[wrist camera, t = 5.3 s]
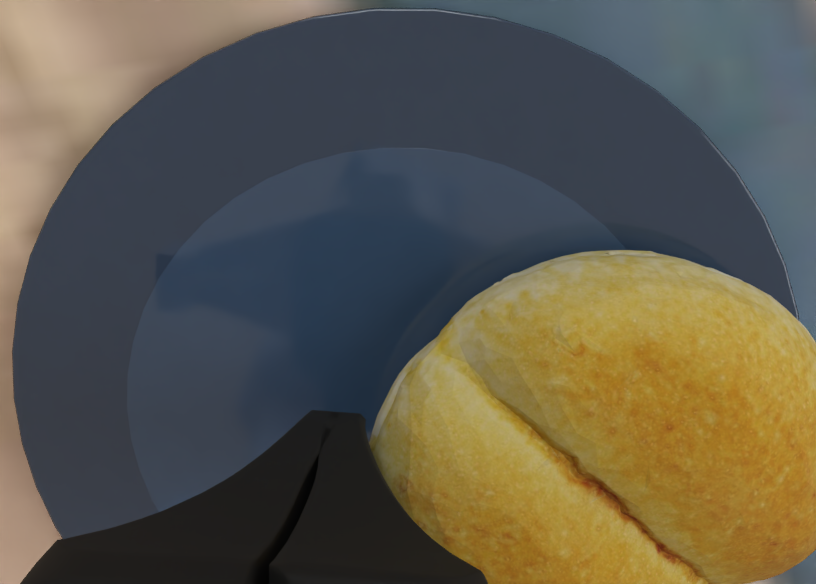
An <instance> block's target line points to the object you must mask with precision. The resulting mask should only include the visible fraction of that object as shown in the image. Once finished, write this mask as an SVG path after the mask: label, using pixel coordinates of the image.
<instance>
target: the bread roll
mask: <svg viewBox="0 0 816 584" xmlns="http://www.w3.org/2000/svg"><path fill="white" fill-rule="evenodd" d="M369 445H370V448H371V451H372V453H373V455H374V458H375V460H376V463H377V465H378V467H379V469H380V471H381V473H382V475H383V477H384V479H385V481H386V482H387V484H388V486H389V488H390V489H391V491H392V493H393V494H394V496H395V497H396V499H397V500H398V502H399V503H400V504H401V506H402V507H403V508H404V510H405V511H406V512H407V514H408V515H409V516H410V517H411V518H412V520H413V521H414V522H415V523H416V524H417V525H418V526H419V527H420V528H421V529H422V530H423V531H424V532H425V533H426V534H427V535H429V536H430V537H431V538H432V539H433V540H434V541H436V542H437V543H438V544H440V545H441V546H442V547H444V548H445V549H446V550H447V551H449V552H450V553H452V554H453V555H455V556H457V557H458V558H460V559H462V560H464V561H465V562H467V563H469V564H470V565H472V566H474V567H475V568H477V569H479V570H481V571H482V572H483V574H484V575H485V578H486V580H487V582H488V584H743V583H751V582H754V581H758V580H765V579H768V578H771V577H774V576H776V575H779V574H782V573H783V572H785V571H787V570H789V569H791V568H792V567H794V566H795V565H797V564H798V563H800V562H802V561H803V560H804V559H806V558H807V557H808V556H809V555H810V554H811V553H813V552H814V551H815V550H816V342H815V341H814V339H813V338H812V336H811V335H810V333H809V332H808V330H807V329H806V328H805V327H804V326H803V325H802V324H801V323H800V322H799V321H798V320H797V319H796V318H795V317H794V316H793V315H792V314H791V313H790V312H789V311H788V310H787V309H786V308H785V307H784V306H782V305H781V304H780V303H779V302H778V301H776V300H775V299H774V298H773V297H772V296H770V295H768V294H766V293H765V292H763V291H761V290H759V289H757V288H756V287H754V286H752V285H750V284H748V283H745V282H744V281H742V280H740V279H738V278H735V277H732V276H730V275H727V274H725V273H722V272H720V271H718V270H715V269H713V268H708V267H704V266H702V265H699V264H696V263H694V262H691V261H688V260H686V259H681V258H677V257H672V256H668V255H663V254H658V253H655V252H652V251H634V250H608V251H590V252H581V253H576V254H571V255H566V256H561V257H558V258H555V259H551V260H548V261H545V262H541V263H539V264H537V265H534V266H532V267H530V268H528V269H525V270H523V271H521V272H518V273H513V274H511V275H509V276H507V277H505V278H504V279H503V280H502V281H500V282H497V283H494V285H492V286H491V287H489V288H488V289H486V290H484V291H482V292H481V293H479V294H477V295H476V296H474V297H473V298H472V299H470V300H469V301H468V302H467V303H466V304H465V305H464V306H463V307H462V308H461V309H460V310H459V311H458V312H457V313H456V314H455V315H454V316H453V317H452V318H451V320H450V321H449V323H448V324H447V325H446V326H445V327H444V328H443V329H442V330H441V332H440V333H439V335H438V336H437V337H436V338H435V339H434V340H432V341H431V342H430V343H428V344H427V345H426V346H425V347H424V348H423V349H422V350H420V351H419V352H418V353H417V354H416V355H415V356H414V357H413V358H412V359H411V360H410V361H409V362H408V363H407V365H406V366H405V367H404V368H403V370H402V371H401V372H400V373H399V375H398V377H397V378H396V380H395V382H394V383H393V385H392V387H391V389H390V391H389V393H388V395H387V397H386V399H385V401H384V403H383V405H382V407H381V409H380V411H379V413H378V415H377V418H376V421H375V424H374V427H373V431H372V434H371V438H370V441H369Z"/></svg>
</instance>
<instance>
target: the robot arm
mask: <svg viewBox="0 0 816 584" xmlns="http://www.w3.org/2000/svg"><path fill="white" fill-rule="evenodd" d="M365 422H366V419H365V418H364V417H363V416H362V415H361V414H360V413H347V412H333V411H319V410H311V411H310V412H309V413H307V414H306V415H305V416H304V417H303V418H302V419H301V420H300V421H298V422H297V423H296V424H295V425H294V426H293V427H292V428H291V429H290V430H289V431H288V432H287V433H286V434H284V435H283V436H282V437H281V438H280V439H279V440H278V441H277V442H275V443H274V444H273V445H272V446H271V447H270V448H268V449H267V450H266V451H265V452H264V453H262V454H261V455H260V456H259V457H257V458H256V459H255V460H253V461H252V462H250V463H249V464H248V465H246V466H245V467H244V468H242V469H241V470H240V471H238V472H237V473H235V474H234V475H232V476H230V477H229V478H227V479H226V480H224V481H222V482H221V483H219V484H217V485H215V486H213V487H212V488H210V489H208V490H206V491H204V492H203V493H201V494H199V495H196V496H194V497H192V498H190V499H188V500H185V501H183V502H181V503H179V504H177V505H174V506H172V507H170V508H168V509H166V510H163V511H161V512H158V513H155V514H153V515H150V516H147V517H144V518H142V519H138V520H135V521H132V522H129V523H126V524H123V525H120V526H116V527H112V528H109V529H105V530H101V531H96V532H92V533H88V534H84V535H79V536H75V537H71V538H66V539H61V540H57V541H56V542H55V543H54V544H53V545H52V546H51V548H50V549H49V550H48V551H47V552H46V553H45V554H44V555H43V556H42V557H41V558H40V560H39V561H38V562H37V563H36V564H35V565H34V567H33V568H32V569H31V571H30V572H29V573H28V574H27V576H26V577H25V578H24V579H23V581H22V582H21V583H20V584H488V582H487V580H486V578H485V575H484V574H483V572H482V571H481V570H479V569H477V568H475V567H474V566H472V565H470V564H469V563H467V562H465V561H464V560H462V559H460V558H458V557H457V556H455V555H453V554H452V553H450V552H449V551H447V550H446V549H445V548H444V547H442V546H441V545H440V544H438V543H437V542H436V541H434V540H433V539H432V538H431V537H430V536H429V535H427V534H426V533H425V532H424V531H423V530H422V529H421V528H420V527H419V526H418V525H417V524H416V523H415V522H414V521H413V520H412V518H411V517H410V516H409V515H408V514H407V512H406V511H405V510H404V508H403V507H402V506H401V504H400V503H399V502H398V500H397V499H396V497H395V496H394V494H393V493H392V491H391V489H390V488H389V486H388V484H387V482H386V481H385V479H384V477H383V475H382V473H381V471H380V469H379V467H378V465H377V463H376V460H375V458H374V455H373V453H372V451H371V448H370V445H369V442H368V438H367V434H366V429H365Z"/></svg>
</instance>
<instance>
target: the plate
mask: <svg viewBox="0 0 816 584" xmlns="http://www.w3.org/2000/svg"><path fill="white" fill-rule="evenodd" d="M608 250H634V251H652V252H655V253H658V254H663V255H668V256H672V257H677V258H681V259H686V260H688V261H691V262H694V263H696V264H699V265H702V266H704V267H708V268H713V269H715V270H718V271H720V272H722V273H725V274H727V275H730V276H732V277H735V278H738V279H740V280H742V281H744V282H745V283H748V284H750V285H752V286H754V287H756V288H757V289H759V290H761V291H763V292H765V293H766V294H768V295H770V296H772V297H773V298H774V299H775V300H776V301H778V302H779V303H780V304H781V305H782V306H784V307H785V308H786V309H787V310H788V311H789V312H790V313H791V314H792V315H793V316H794V317H795V318H796V319H797V320H798V321H799V315H798V310H797V306H796V302H795V299H794V295H793V291H792V287H791V283H790V280H789V276H788V272H787V268H786V264H785V262H784V259H783V257H782V255H781V252H780V250H779V248H778V245H777V243H776V241H775V238H774V236H773V234H772V232H771V229H770V227H769V225H768V222H767V220H766V218H765V215H764V214H763V212H762V211H761V209H760V207H759V206H758V204H757V203H756V201H755V199H754V198H753V196H752V195H751V193H750V191H749V190H748V188H747V187H746V185H745V183H744V182H743V180H742V179H741V177H740V175H739V174H738V172H737V171H736V169H735V168H734V167H733V166H732V165H731V163H730V162H729V161H728V160H727V159H726V158H725V156H724V155H723V154H722V153H721V152H720V151H719V149H718V148H717V147H716V146H715V145H714V144H713V142H712V141H711V140H710V139H709V138H708V136H707V135H706V134H705V133H704V132H703V131H702V129H701V128H700V127H699V126H697V125H696V124H695V123H694V122H693V121H692V120H690V119H689V118H688V117H687V116H686V115H685V114H684V113H682V112H681V111H680V110H679V109H678V108H677V107H676V106H674V105H673V104H672V103H671V102H670V101H669V100H668V99H666V98H665V97H664V96H663V95H662V94H661V93H659V92H658V91H657V90H656V89H654V88H652V87H651V86H649V85H648V84H646V83H645V82H643V81H642V80H640V79H638V78H637V77H635V76H634V75H632V74H631V73H629V72H628V71H626V70H624V69H623V68H621V67H620V66H618V65H617V64H615V63H614V62H612V61H610V60H609V59H607V58H605V57H603V56H600V55H598V54H596V53H594V52H592V51H589V50H587V49H585V48H583V47H581V46H578V45H576V44H574V43H572V42H570V41H567V40H565V39H563V38H561V37H559V36H557V35H554V34H551V33H548V32H545V31H541V30H538V29H534V28H531V27H527V26H524V25H521V24H517V23H514V22H510V21H507V20H504V19H500V18H497V17H491V16H484V15H478V14H471V13H464V12H457V11H450V10H443V9H436V8H371V9H363V10H356V11H349V12H342V13H334V14H327V15H320V16H313V17H310V18H306V19H303V20H299V21H296V22H292V23H289V24H285V25H282V26H278V27H275V28H271V29H268V30H264V31H261V32H257V33H255V34H252V35H250V36H248V37H246V38H243V39H241V40H239V41H237V42H235V43H232V44H230V45H228V46H226V47H223V48H221V49H219V50H217V51H215V52H212V53H210V54H208V55H206V56H203V57H202V58H200V59H199V60H197V61H195V62H194V63H192V64H191V65H189V66H188V67H186V68H184V69H183V70H181V71H180V72H178V73H177V74H175V75H173V76H172V77H170V78H169V79H167V80H166V81H164V82H162V83H161V84H159V85H158V86H156V87H155V88H153V89H152V90H151V91H150V92H149V93H148V94H146V95H145V96H144V97H143V98H142V99H141V100H140V101H138V102H137V103H136V104H135V105H134V106H133V107H132V108H130V109H129V110H128V111H127V112H126V113H125V114H123V115H122V116H121V117H120V118H119V119H118V120H117V121H115V122H114V123H113V124H112V125H111V126H110V128H109V129H108V130H107V131H106V132H105V133H104V135H103V136H102V137H101V138H100V139H99V140H98V142H97V143H96V144H95V145H94V146H93V147H92V149H91V150H90V151H89V152H88V153H87V154H86V156H85V157H84V158H83V159H82V160H81V161H80V163H79V164H78V165H77V167H76V168H75V170H74V171H73V173H72V175H71V176H70V178H69V179H68V181H67V183H66V184H65V186H64V188H63V189H62V191H61V192H60V194H59V196H58V197H57V199H56V200H55V202H54V204H53V205H52V207H51V208H50V210H49V213H48V215H47V217H46V220H45V222H44V224H43V227H42V229H41V231H40V234H39V236H38V238H37V241H36V243H35V245H34V248H33V250H32V252H31V255H30V258H29V262H28V265H27V269H26V273H25V277H24V281H23V284H22V288H21V292H20V296H19V300H18V303H17V312H16V321H15V330H14V339H13V348H12V360H13V388H14V402H15V407H16V413H17V418H18V424H19V430H20V435H21V441H22V445H23V448H24V451H25V454H26V457H27V460H28V464H29V467H30V470H31V473H32V476H33V479H34V482H35V485H36V488H37V490H38V492H39V494H40V496H41V498H42V500H43V502H44V504H45V507H46V509H47V511H48V513H49V515H50V517H51V519H52V521H53V523H54V525H55V527H56V529H57V531H58V532H59V534H60V535H61V537H62V538H63V539H66V538H71V537H75V536H79V535H84V534H88V533H92V532H96V531H101V530H105V529H109V528H112V527H116V526H120V525H123V524H126V523H129V522H132V521H135V520H138V519H142V518H144V517H147V516H150V515H153V514H155V513H158V512H161V511H163V510H166V509H168V508H170V507H172V506H174V505H177V504H179V503H181V502H183V501H185V500H188V499H190V498H192V497H194V496H196V495H199V494H201V493H203V492H204V491H206V490H208V489H210V488H212V487H213V486H215V485H217V484H219V483H221V482H222V481H224V480H226V479H227V478H229V477H230V476H232V475H234V474H235V473H237V472H238V471H240V470H241V469H242V468H244V467H245V466H246V465H248V464H249V463H250V462H252V461H253V460H255V459H256V458H257V457H259V456H260V455H261V454H262V453H264V452H265V451H266V450H267V449H268V448H270V447H271V446H272V445H273V444H274V443H275V442H277V441H278V440H279V439H280V438H281V437H282V436H283V435H284V434H286V433H287V432H288V431H289V430H290V429H291V428H292V427H293V426H294V425H295V424H296V423H297V422H298V421H300V420H301V419H302V418H303V417H304V416H305V415H306V414H307V413H309V412H310V411H311V410H319V411H333V412H347V413H360V414H361V415H362V416H363V417H364V418H365V419H366V422H365V429H366V434H367V438H368V442H369V441H370V438H371V434H372V431H373V427H374V424H375V421H376V418H377V415H378V413H379V411H380V409H381V407H382V405H383V403H384V401H385V399H386V397H387V395H388V393H389V391H390V389H391V387H392V385H393V383H394V382H395V380H396V378H397V377H398V375H399V373H400V372H401V371H402V370H403V368H404V367H405V366H406V365H407V363H408V362H409V361H410V360H411V359H412V358H413V357H414V356H415V355H416V354H417V353H418V352H419V351H420V350H422V349H423V348H424V347H425V346H426V345H427V344H428V343H430V342H431V341H432V340H434V339H435V338H436V337H437V336H438V335H439V333H440V332H441V330H442V329H443V328H444V327H445V326H446V325H447V324H448V323H449V321H450V320H451V318H452V317H453V316H454V315H455V314H456V313H457V312H458V311H459V310H460V309H461V308H462V307H463V306H464V305H465V304H466V303H467V302H468V301H469V300H470V299H472V298H473V297H474V296H476V295H477V294H479V293H481V292H482V291H484V290H486V289H488V288H489V287H491V286H492V285H494V283H497V282H500V281H502V280H503V279H504V278H505V277H507V276H509V275H511V274H513V273H518V272H521V271H523V270H525V269H528V268H530V267H532V266H534V265H537V264H539V263H541V262H545V261H548V260H551V259H555V258H558V257H561V256H566V255H571V254H576V253H581V252H590V251H608Z"/></svg>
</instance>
